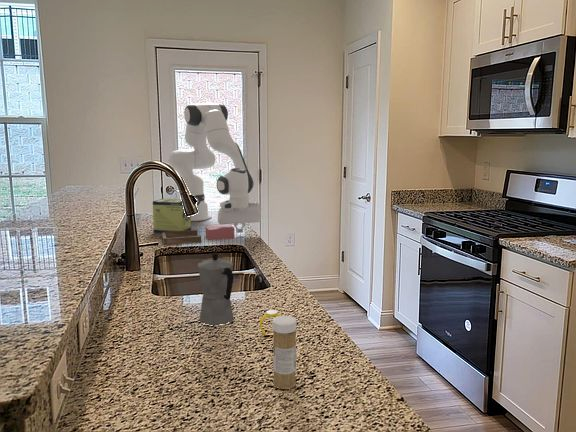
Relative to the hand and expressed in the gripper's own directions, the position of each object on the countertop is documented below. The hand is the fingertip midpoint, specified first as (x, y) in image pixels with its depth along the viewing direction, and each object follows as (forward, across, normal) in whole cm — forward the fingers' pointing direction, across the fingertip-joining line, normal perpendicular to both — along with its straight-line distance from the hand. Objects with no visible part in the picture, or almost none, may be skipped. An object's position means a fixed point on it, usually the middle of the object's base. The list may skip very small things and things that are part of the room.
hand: (239, 232), depth 224 cm
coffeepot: (+2, +27, +100) cm, 104 cm away
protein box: (+2, +29, -20) cm, 36 cm away
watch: (+2, +16, +112) cm, 113 cm away
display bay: (+2, +26, 0) cm, 27 cm away
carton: (+2, +10, 0) cm, 10 cm away
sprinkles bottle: (+2, +20, +135) cm, 137 cm away
